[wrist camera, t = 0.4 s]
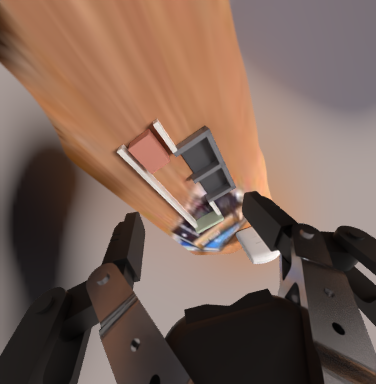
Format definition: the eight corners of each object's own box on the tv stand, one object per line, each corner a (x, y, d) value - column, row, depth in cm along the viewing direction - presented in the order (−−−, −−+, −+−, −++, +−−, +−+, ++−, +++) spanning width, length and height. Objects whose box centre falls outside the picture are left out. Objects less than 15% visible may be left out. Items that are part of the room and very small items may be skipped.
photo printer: (260, 222, 53) (284, 252, 44) (259, 228, 56) (282, 258, 46) (235, 231, 53) (253, 263, 44) (235, 237, 56) (252, 268, 46)
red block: (130, 142, 27) (127, 149, 24) (148, 128, 26) (148, 134, 23) (151, 165, 30) (151, 174, 27) (168, 153, 30) (170, 161, 26)
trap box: (119, 147, 27) (115, 155, 23) (190, 93, 24) (196, 95, 21) (194, 223, 45) (197, 233, 42) (239, 198, 42) (246, 207, 39)
